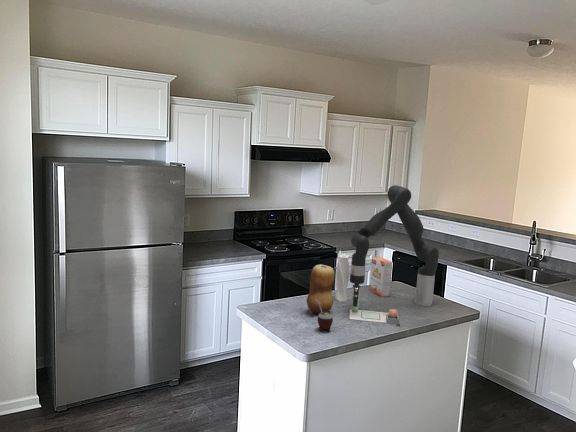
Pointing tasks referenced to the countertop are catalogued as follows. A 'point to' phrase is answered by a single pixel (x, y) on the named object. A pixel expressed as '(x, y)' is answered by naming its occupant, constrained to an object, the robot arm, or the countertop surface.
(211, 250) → the countertop surface
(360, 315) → the white flat board
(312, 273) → the butternut squash
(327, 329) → the mate gourd
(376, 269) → the cracker box
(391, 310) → the button
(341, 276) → the skyscraper
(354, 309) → the marker
